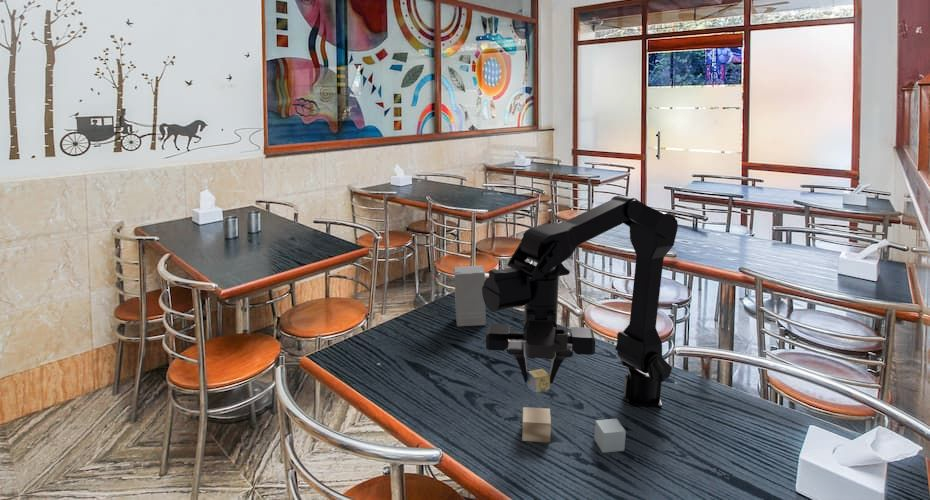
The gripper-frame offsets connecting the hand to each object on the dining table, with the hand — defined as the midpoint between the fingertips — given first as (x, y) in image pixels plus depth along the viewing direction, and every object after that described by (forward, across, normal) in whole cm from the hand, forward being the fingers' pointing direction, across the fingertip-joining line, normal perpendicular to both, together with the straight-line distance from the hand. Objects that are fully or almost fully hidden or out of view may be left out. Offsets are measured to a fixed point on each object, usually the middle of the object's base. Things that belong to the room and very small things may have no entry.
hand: (538, 382), depth 99 cm
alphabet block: (+1, 0, 0) cm, 1 cm away
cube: (+11, +13, -2) cm, 17 cm away
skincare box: (+11, -18, +51) cm, 55 cm away
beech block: (+11, 0, 0) cm, 11 cm away
